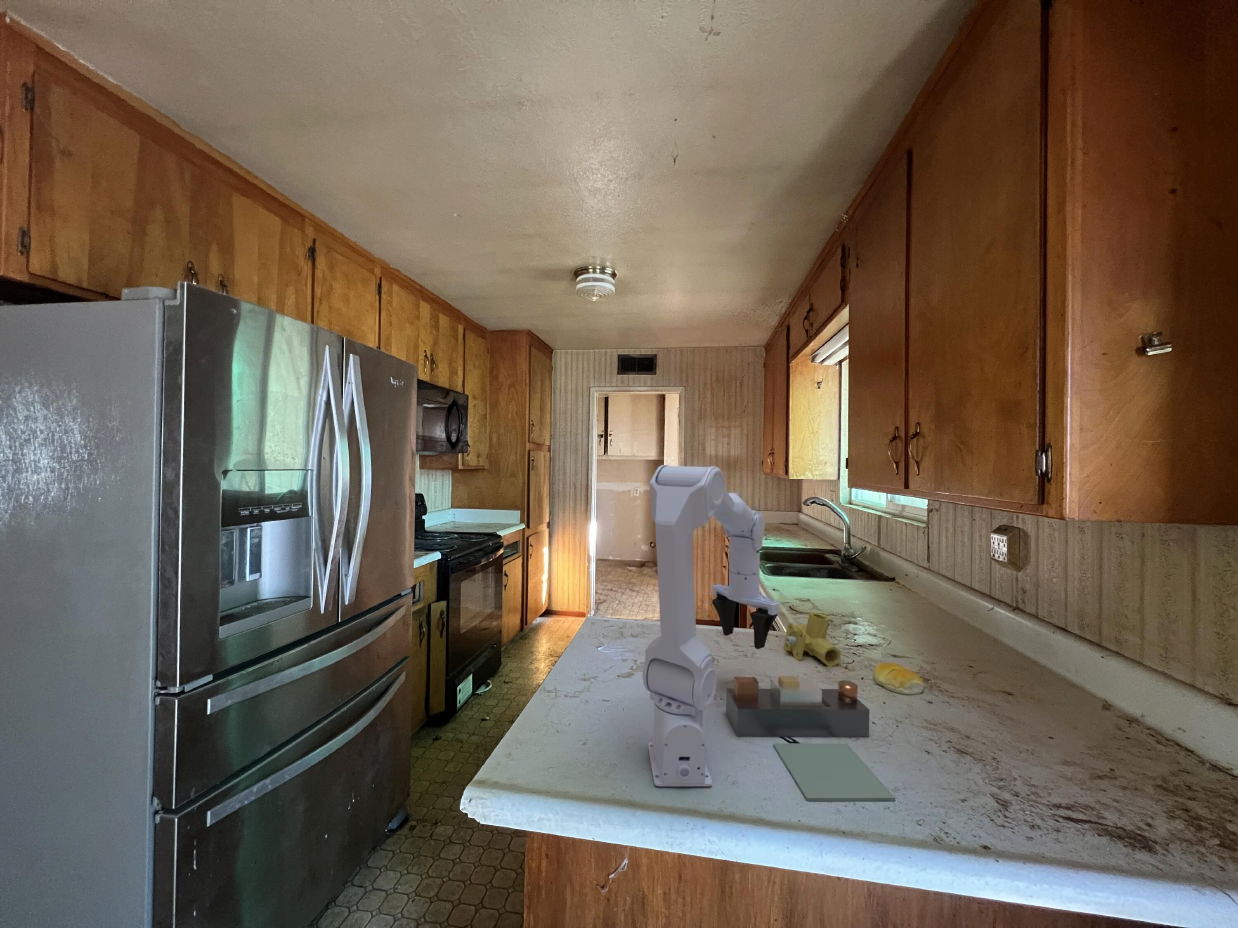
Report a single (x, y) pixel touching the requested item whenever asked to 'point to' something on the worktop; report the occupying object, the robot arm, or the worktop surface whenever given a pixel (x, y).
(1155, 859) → the worktop surface
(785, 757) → the rubber mat
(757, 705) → the hand plane
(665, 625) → the robot arm
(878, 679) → the bread roll
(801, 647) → the yellow pipe fitting
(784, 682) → the lever cap
